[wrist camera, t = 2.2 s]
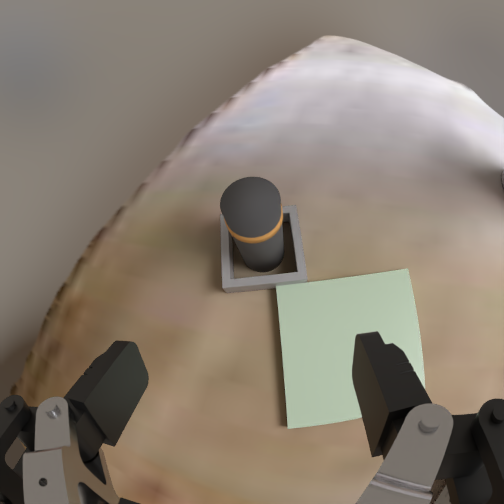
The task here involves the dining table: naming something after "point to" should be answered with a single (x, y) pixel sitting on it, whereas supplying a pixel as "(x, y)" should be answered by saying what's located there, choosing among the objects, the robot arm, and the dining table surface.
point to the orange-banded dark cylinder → (255, 221)
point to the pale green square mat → (340, 339)
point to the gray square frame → (269, 280)
